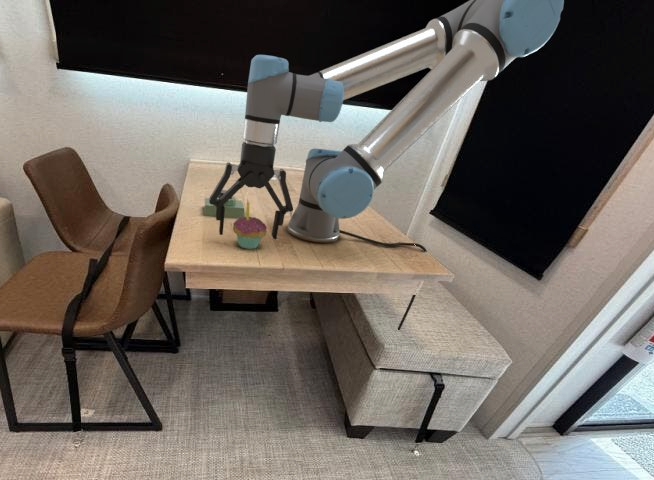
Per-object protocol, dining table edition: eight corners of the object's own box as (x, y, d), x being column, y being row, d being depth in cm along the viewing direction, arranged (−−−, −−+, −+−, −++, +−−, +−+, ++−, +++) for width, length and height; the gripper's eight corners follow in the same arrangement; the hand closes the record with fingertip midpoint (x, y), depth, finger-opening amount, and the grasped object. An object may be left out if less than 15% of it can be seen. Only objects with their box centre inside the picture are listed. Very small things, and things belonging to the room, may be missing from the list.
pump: (230, 197, 104) (231, 190, 103) (231, 200, 100) (231, 194, 99) (217, 196, 103) (218, 189, 102) (218, 199, 100) (218, 192, 99)
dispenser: (241, 210, 108) (242, 195, 106) (243, 218, 102) (245, 202, 99) (204, 207, 106) (205, 191, 104) (204, 215, 100) (205, 198, 97)
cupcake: (250, 254, 79) (256, 205, 73) (224, 243, 83) (227, 196, 77) (270, 246, 85) (277, 200, 79) (245, 236, 89) (250, 191, 83)
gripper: (309, 148, 77) (291, 233, 88) (201, 133, 72) (198, 225, 84) (318, 153, 71) (298, 244, 82) (201, 138, 66) (197, 236, 77)
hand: (247, 235), depth 83 cm, fingers open, 13 cm apart
